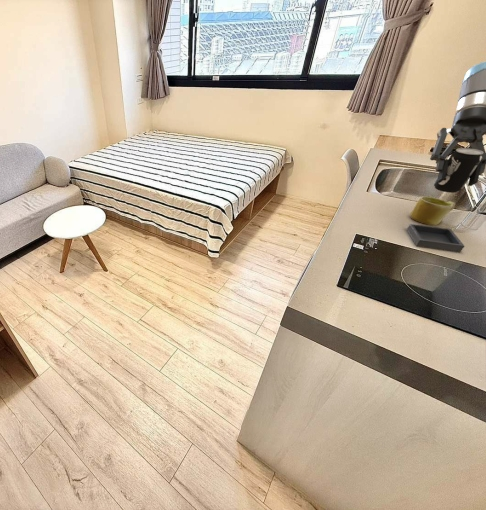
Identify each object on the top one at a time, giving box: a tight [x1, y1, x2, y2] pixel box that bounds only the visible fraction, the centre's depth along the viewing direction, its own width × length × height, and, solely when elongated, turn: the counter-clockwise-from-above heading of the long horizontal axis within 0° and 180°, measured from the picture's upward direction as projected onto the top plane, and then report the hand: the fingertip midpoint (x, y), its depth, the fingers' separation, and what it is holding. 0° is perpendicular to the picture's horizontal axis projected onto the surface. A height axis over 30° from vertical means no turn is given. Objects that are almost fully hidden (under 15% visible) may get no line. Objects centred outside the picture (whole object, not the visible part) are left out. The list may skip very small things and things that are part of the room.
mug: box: [410, 195, 456, 226], centre depth 102 cm, size 12×10×10 cm
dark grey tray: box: [406, 223, 466, 254], centre depth 93 cm, size 11×11×3 cm
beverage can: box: [433, 147, 484, 194], centre depth 85 cm, size 7×7×12 cm
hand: (456, 182), depth 84 cm, fingers closed on beverage can, 6 cm apart
